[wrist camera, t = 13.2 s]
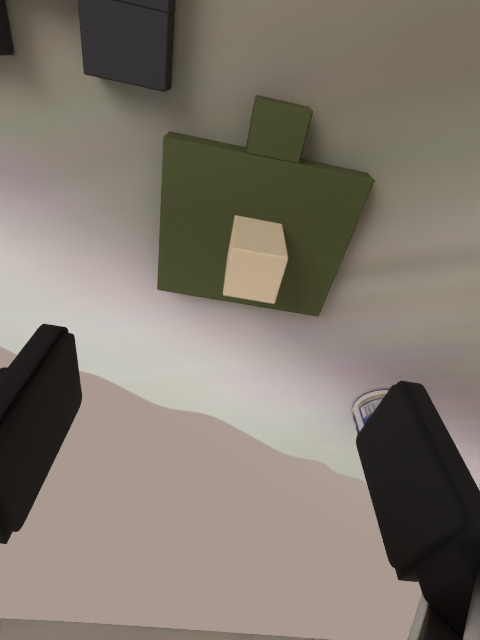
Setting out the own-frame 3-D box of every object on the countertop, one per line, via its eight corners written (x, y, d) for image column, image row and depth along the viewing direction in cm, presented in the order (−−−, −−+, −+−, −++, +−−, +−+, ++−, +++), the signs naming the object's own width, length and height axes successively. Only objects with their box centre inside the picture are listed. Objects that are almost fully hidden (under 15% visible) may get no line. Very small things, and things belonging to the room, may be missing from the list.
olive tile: (387, 124, 19) (432, 148, 14) (315, 305, 27) (329, 359, 22) (171, 75, 18) (142, 84, 13) (161, 279, 26) (141, 330, 21)
